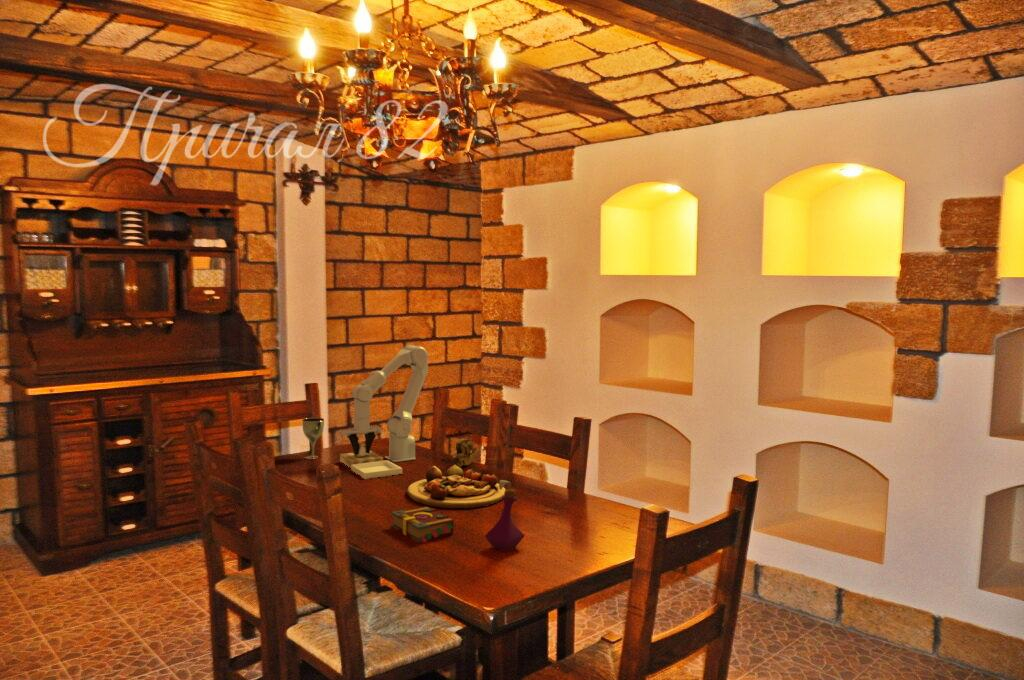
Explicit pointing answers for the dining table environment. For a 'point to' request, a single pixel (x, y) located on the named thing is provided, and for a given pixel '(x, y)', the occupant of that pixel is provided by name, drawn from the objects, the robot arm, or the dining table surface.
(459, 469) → the wooden plate with food
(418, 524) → the decorative book
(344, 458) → the hitch block
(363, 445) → the peg
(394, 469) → the tray
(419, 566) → the dining table surface
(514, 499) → the perfume bottle
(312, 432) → the wine glass
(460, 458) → the wooden carving
